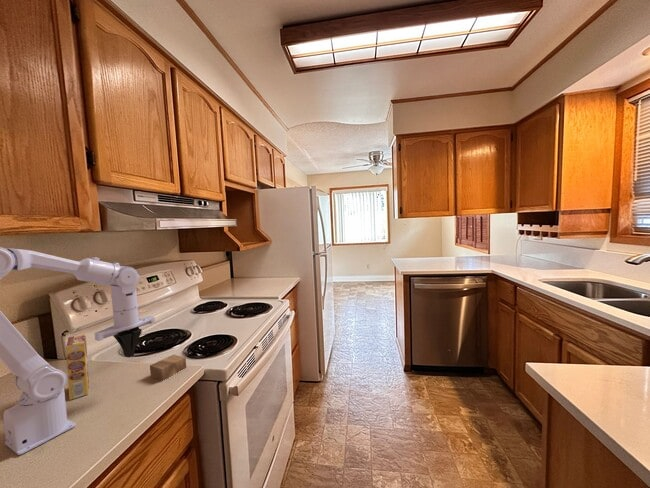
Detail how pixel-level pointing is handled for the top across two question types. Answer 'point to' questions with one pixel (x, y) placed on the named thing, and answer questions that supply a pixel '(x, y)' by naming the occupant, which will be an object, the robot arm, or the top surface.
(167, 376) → the walnut block
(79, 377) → the candy box
